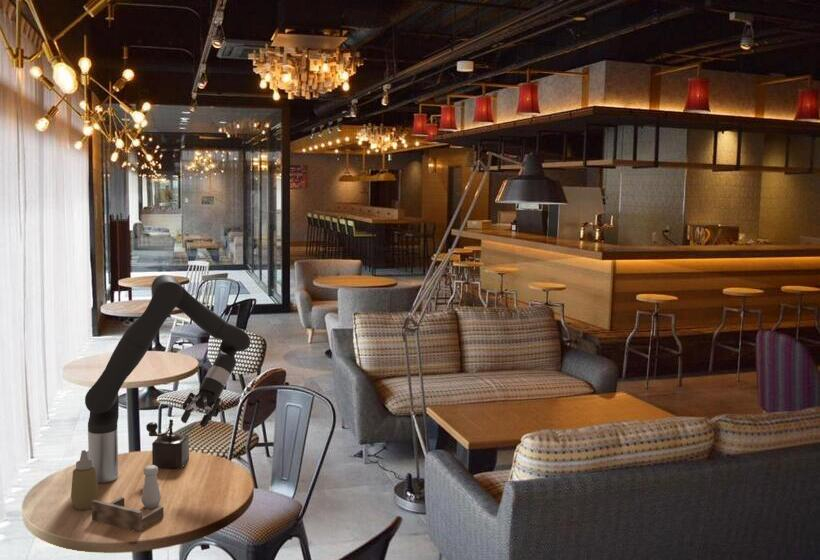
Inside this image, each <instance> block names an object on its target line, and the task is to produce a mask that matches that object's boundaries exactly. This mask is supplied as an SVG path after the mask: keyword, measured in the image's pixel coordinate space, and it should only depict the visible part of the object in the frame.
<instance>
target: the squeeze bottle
mask: <svg viewBox="0 0 820 560" xmlns="http://www.w3.org/2000/svg"><path fill="white" fill-rule="evenodd" d="M86 452H87V451H86V450H85V449H83V450H81V453H80V457H79V460H78V461H76V462H75V468H74V469H73V470H72V478H71V480H72V481H71V489H70V490H71V491H70V499H71V501H72V504H73V506H74V508H75V509H76V510H80V511H84V510H89V509H92V501H93V500H98V499H99V494H100V493H99V486H98V484H99V483H97V477H96V470H95V468H94V467H92V461H91V460H88V457H87V453H86Z"/></svg>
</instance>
